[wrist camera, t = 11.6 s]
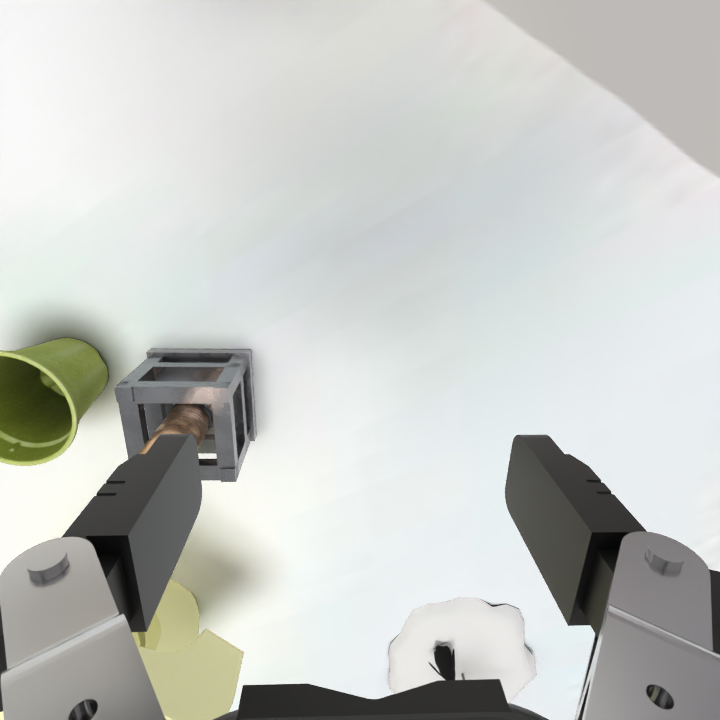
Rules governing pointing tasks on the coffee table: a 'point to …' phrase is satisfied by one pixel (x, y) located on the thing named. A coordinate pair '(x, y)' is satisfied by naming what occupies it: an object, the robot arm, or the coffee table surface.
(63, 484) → the coffee table surface
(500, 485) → the coffee table surface
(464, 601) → the figurine
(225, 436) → the metal frame cube
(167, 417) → the tube
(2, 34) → the coffee table surface
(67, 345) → the plant pot
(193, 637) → the slatted curved stool
